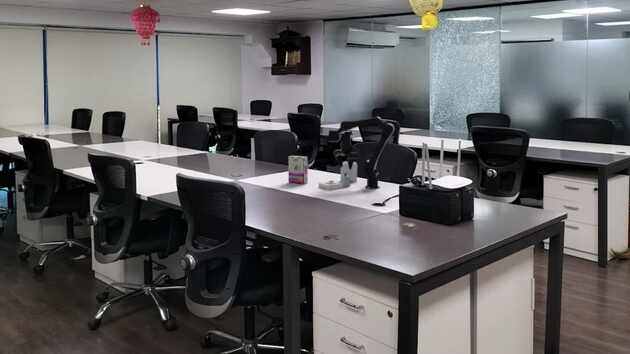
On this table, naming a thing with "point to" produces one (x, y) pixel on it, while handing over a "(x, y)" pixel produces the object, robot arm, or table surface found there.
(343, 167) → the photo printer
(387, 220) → the table surface
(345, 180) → the plug
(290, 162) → the candy bar box
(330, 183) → the socket plate
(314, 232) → the table surface
